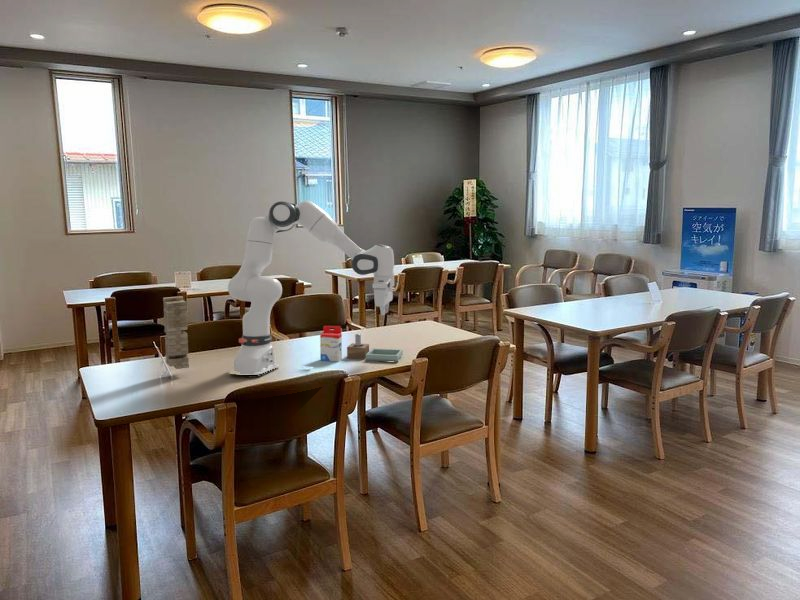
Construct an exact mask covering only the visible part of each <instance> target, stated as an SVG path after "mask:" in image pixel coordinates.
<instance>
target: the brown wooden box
mask: <svg viewBox="0 0 800 600" xmlns="http://www.w3.org/2000/svg"><path fill="white" fill-rule="evenodd" d="M369 351H370V343H361V347H356V346H355V343H350V344H349V345H347V347H346V358H347V359H357V360H358V359H359V360H366V354H367V353H368V352H369Z"/></svg>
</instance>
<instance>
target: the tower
mask: <svg viewBox="0 0 800 600" xmlns="http://www.w3.org/2000/svg"><path fill="white" fill-rule="evenodd" d="M162 301H163V323H164V330H163V331H164V333H165V336H164V341H165V342H164V343H165V344H164V345H165V347H164V348H165V363H166V364H167V366H169V367H174V368H175V369H176V370H182V369H189V368H190V363H189V361H190V359H189V357H188V354H189V344H188V343H189V340H188V333H187V332H186V331H187V330H188V312H187V311H188V310H187V309H188V306H187V301H185V300H184V296H183V295H181V296H170V297H169V296H167V297H162Z"/></svg>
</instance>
